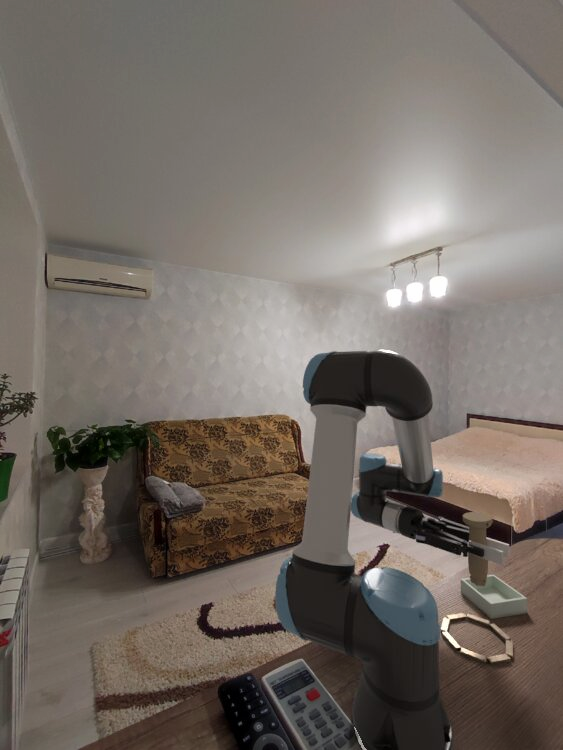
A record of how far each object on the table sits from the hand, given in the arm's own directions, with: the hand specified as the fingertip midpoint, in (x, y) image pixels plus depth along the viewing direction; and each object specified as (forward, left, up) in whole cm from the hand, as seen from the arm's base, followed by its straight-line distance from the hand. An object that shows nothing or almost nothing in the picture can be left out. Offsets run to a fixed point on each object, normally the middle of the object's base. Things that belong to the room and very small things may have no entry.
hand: (505, 554), depth 72 cm
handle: (-3, +5, -9) cm, 10 cm away
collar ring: (-6, +2, -18) cm, 20 cm away
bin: (+7, +11, -18) cm, 23 cm away
